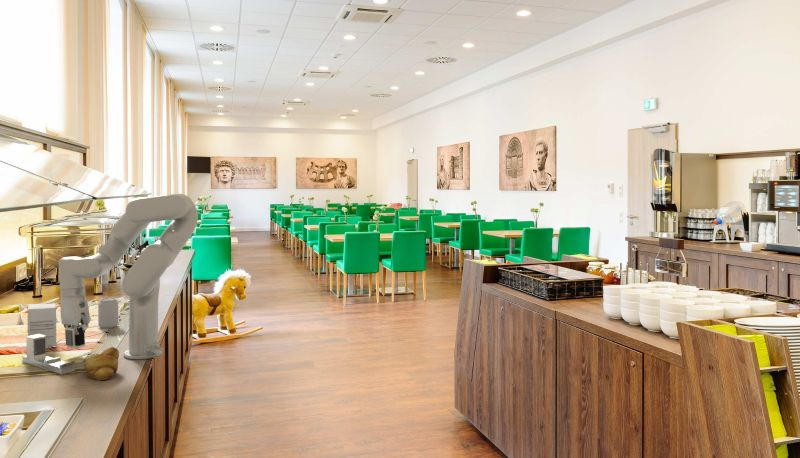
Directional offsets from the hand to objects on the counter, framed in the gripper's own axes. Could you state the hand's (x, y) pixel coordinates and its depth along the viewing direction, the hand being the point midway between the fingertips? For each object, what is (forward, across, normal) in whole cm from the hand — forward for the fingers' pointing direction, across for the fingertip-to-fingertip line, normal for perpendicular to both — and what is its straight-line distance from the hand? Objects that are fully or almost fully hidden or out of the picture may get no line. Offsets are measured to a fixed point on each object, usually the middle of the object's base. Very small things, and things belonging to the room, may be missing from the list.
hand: (76, 343), depth 203 cm
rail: (+4, -4, +12) cm, 13 cm away
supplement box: (+4, +21, 0) cm, 21 cm away
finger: (+1, 0, 0) cm, 1 cm away
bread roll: (+5, -26, +8) cm, 28 cm away
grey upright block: (+4, +28, -31) cm, 42 cm away
